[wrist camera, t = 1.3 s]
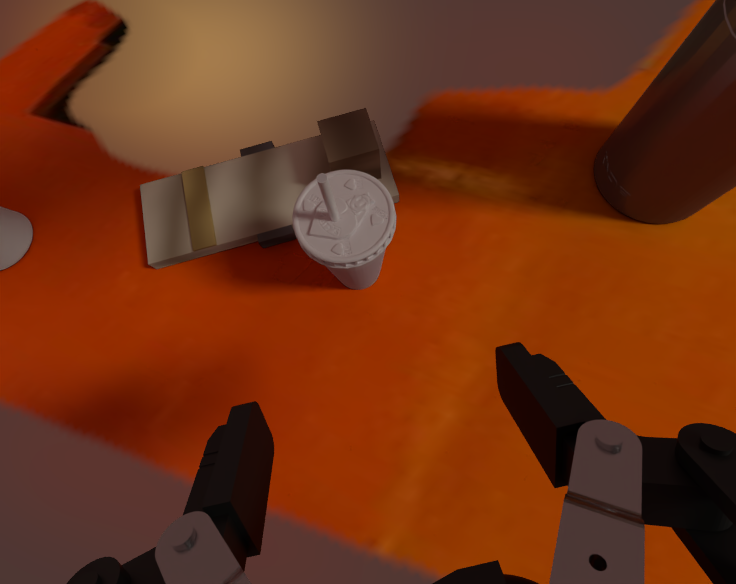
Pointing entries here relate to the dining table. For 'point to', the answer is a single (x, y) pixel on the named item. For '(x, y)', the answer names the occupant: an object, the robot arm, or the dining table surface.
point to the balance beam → (254, 191)
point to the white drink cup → (346, 225)
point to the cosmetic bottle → (13, 237)
